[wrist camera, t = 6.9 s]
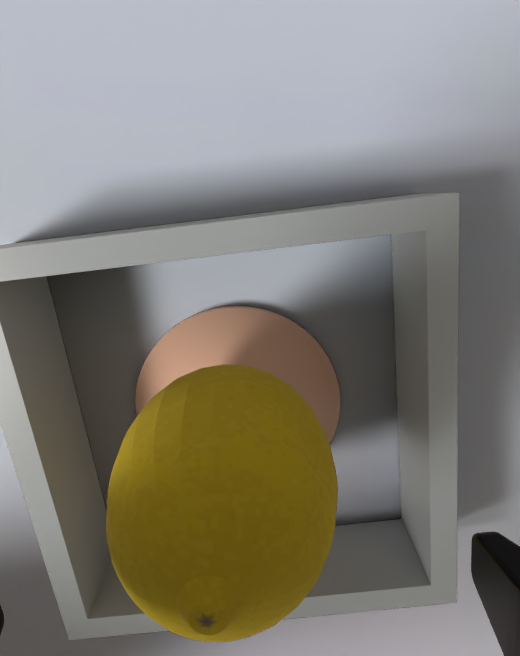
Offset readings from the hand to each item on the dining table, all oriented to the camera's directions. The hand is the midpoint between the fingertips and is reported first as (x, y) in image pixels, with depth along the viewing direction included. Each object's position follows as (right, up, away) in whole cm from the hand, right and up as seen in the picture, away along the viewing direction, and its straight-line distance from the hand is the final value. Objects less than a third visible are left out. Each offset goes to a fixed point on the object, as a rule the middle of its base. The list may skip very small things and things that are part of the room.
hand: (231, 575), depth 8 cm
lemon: (0, +2, +7) cm, 7 cm away
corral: (0, +2, +7) cm, 8 cm away
